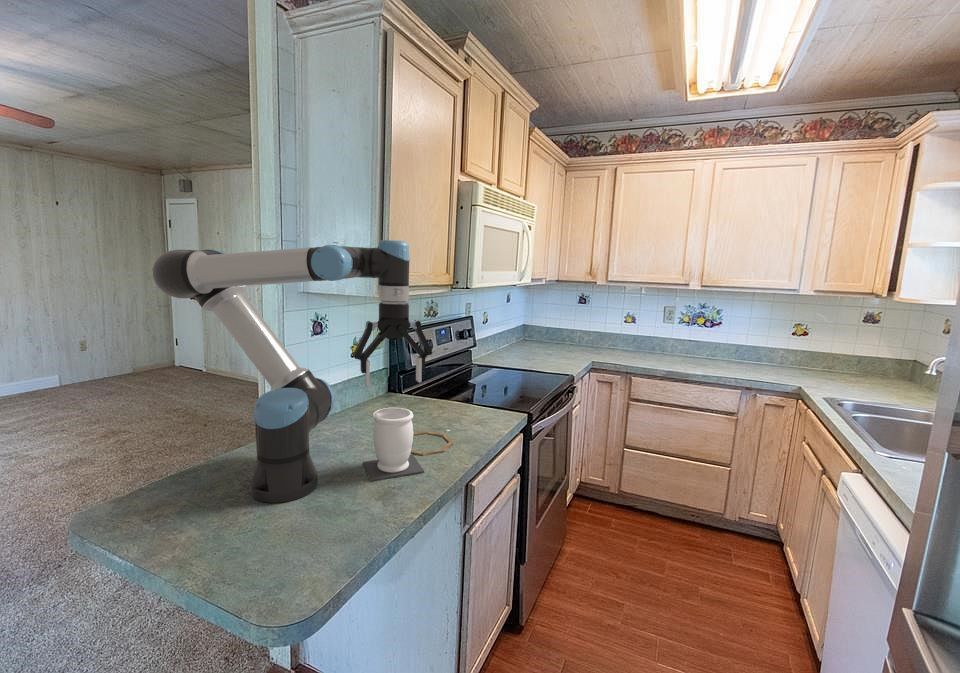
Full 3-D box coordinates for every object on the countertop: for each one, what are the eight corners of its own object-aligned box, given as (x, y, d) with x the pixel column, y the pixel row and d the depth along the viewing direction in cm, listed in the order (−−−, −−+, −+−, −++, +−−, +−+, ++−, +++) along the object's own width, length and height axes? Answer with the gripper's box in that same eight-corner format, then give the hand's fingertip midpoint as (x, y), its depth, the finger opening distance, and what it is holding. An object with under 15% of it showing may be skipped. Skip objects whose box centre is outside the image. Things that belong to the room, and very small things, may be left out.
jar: (365, 468, 121) (364, 415, 118) (389, 454, 130) (390, 404, 127) (397, 479, 116) (397, 423, 113) (420, 463, 125) (421, 411, 122)
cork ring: (405, 458, 129) (405, 456, 129) (392, 436, 144) (392, 435, 144) (459, 450, 136) (459, 448, 136) (441, 430, 151) (441, 429, 151)
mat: (371, 481, 115) (371, 479, 115) (363, 463, 125) (363, 461, 125) (424, 472, 121) (424, 471, 121) (412, 455, 131) (412, 454, 131)
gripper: (345, 304, 107) (346, 391, 111) (445, 303, 117) (443, 383, 121) (341, 301, 114) (342, 382, 117) (435, 300, 124) (434, 376, 127)
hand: (393, 383), depth 119 cm, fingers open, 13 cm apart
